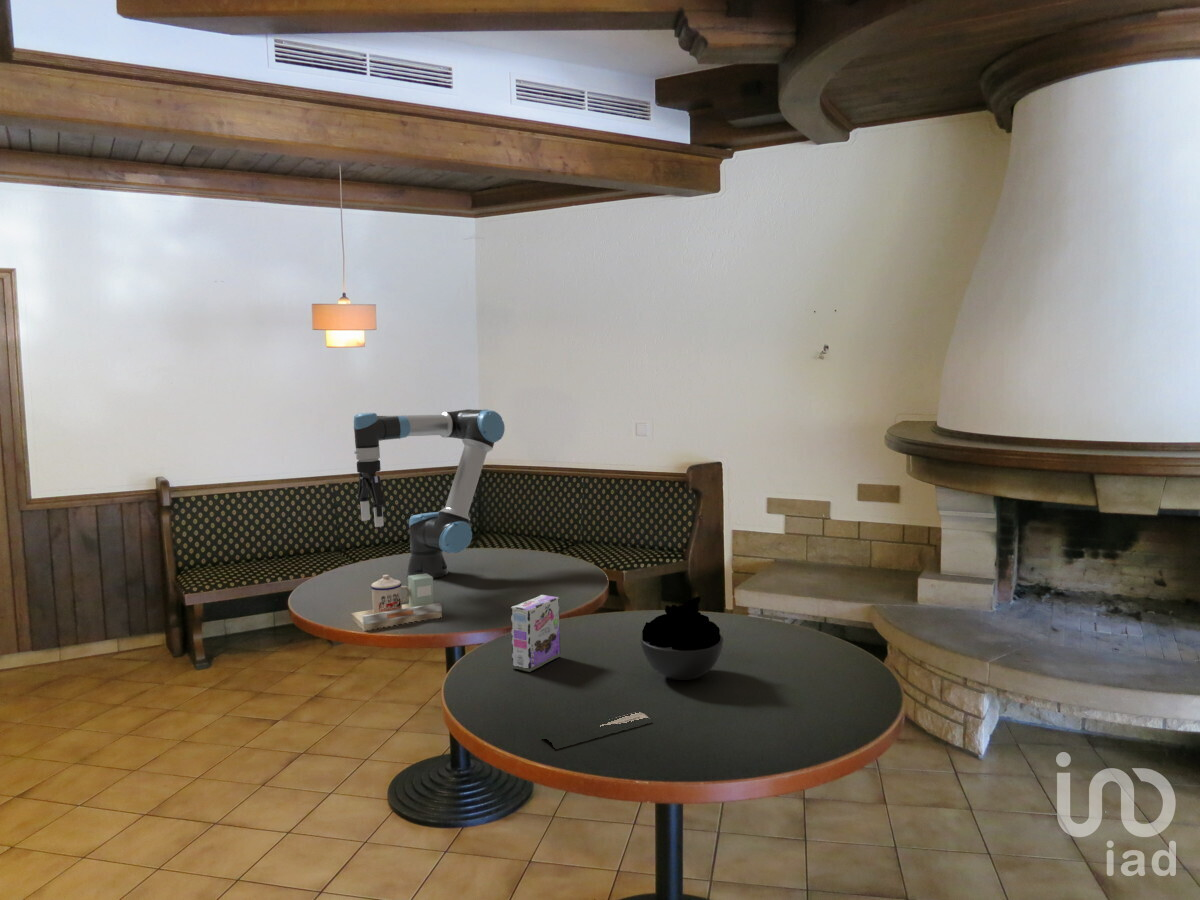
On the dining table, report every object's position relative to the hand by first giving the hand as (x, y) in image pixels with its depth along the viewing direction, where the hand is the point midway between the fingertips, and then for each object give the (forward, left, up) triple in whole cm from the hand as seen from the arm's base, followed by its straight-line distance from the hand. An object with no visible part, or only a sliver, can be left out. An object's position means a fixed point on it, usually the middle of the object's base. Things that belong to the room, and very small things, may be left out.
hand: (372, 523), depth 281 cm
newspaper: (-9, +130, -27) cm, 133 cm away
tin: (-7, +27, -24) cm, 36 cm away
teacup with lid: (+2, +25, -24) cm, 35 cm away
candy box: (-17, +87, -26) cm, 92 cm away
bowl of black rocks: (-42, +116, -26) cm, 125 cm away
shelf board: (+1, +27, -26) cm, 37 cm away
